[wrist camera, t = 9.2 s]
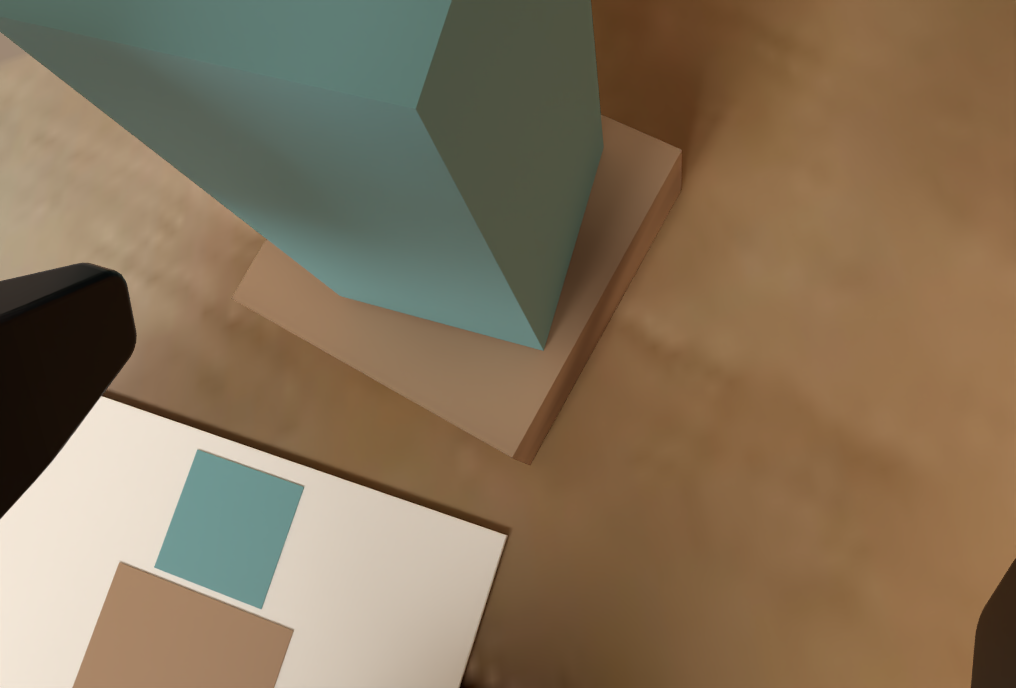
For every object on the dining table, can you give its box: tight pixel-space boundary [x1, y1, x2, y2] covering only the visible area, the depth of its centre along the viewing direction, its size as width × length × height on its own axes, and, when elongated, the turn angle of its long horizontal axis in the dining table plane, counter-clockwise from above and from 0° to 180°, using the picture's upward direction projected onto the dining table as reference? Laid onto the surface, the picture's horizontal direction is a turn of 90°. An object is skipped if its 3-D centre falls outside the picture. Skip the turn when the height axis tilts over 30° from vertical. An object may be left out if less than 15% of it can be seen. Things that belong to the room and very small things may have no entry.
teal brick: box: [0, 0, 604, 351], centre depth 15 cm, size 5×5×12 cm
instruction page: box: [0, 396, 508, 688], centre depth 23 cm, size 10×14×1 cm
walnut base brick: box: [231, 114, 682, 465], centre depth 23 cm, size 8×8×3 cm
